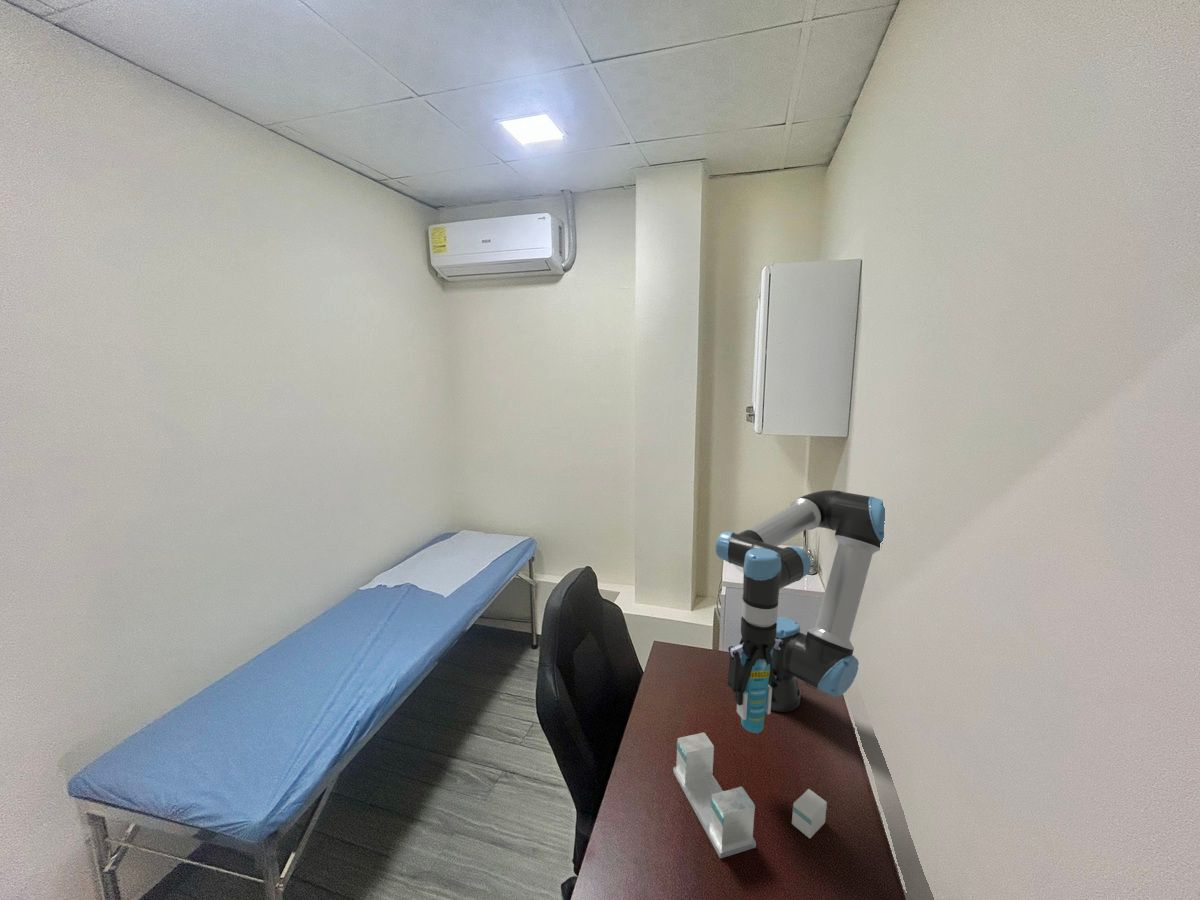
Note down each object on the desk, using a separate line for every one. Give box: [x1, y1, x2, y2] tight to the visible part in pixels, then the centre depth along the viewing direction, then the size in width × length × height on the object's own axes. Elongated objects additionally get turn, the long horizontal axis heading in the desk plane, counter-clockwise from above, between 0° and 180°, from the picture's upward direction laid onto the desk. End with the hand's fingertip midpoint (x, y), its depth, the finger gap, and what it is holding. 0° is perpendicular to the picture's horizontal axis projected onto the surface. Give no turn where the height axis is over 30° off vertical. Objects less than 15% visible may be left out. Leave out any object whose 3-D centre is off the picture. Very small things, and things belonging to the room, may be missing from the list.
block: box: [791, 788, 828, 839], centre depth 97 cm, size 6×4×5 cm, turn 127°
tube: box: [740, 648, 773, 734], centre depth 105 cm, size 7×5×19 cm, turn 103°
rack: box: [672, 732, 757, 859], centre depth 100 cm, size 8×21×9 cm, turn 17°
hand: (753, 712), depth 106 cm, fingers closed on tube, 6 cm apart
